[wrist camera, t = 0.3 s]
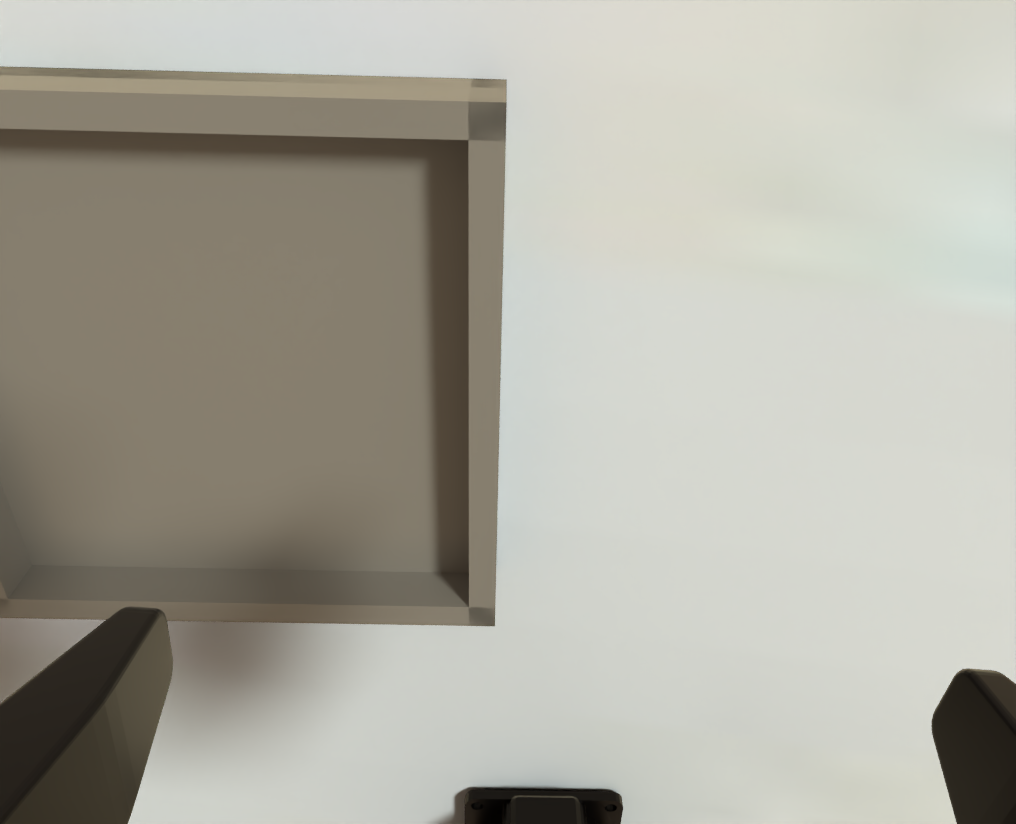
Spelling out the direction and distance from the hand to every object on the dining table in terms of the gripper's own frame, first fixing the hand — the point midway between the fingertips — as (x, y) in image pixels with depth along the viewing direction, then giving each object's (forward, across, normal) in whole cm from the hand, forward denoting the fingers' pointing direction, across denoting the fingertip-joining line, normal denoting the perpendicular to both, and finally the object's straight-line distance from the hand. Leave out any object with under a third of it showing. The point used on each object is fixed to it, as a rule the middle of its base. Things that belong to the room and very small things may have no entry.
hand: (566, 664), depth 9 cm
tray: (+14, +8, +5) cm, 17 cm away
